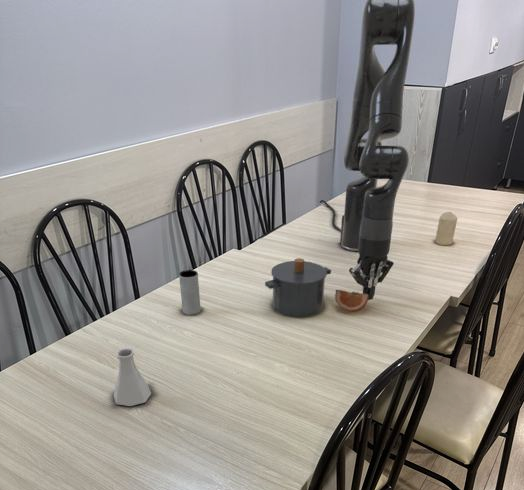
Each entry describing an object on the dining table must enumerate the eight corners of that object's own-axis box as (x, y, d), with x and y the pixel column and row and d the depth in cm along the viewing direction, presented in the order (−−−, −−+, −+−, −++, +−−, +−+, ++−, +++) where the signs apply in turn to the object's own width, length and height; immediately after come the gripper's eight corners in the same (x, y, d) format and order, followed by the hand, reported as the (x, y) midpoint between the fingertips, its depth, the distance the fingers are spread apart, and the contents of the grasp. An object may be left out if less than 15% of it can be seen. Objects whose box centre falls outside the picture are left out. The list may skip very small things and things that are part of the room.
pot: (255, 303, 131) (254, 271, 127) (312, 288, 139) (314, 257, 134) (280, 324, 122) (281, 290, 117) (340, 307, 130) (343, 274, 125)
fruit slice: (331, 311, 128) (332, 293, 125) (338, 300, 133) (339, 283, 130) (363, 317, 125) (365, 299, 122) (369, 306, 130) (371, 288, 127)
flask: (116, 385, 101) (108, 343, 96) (153, 383, 101) (147, 341, 96) (110, 408, 95) (101, 364, 89) (149, 406, 95) (142, 362, 90)
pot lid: (261, 271, 128) (261, 256, 126) (306, 261, 134) (306, 246, 132) (290, 291, 118) (291, 275, 116) (337, 279, 124) (339, 264, 122)
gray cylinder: (187, 316, 125) (183, 278, 120) (179, 309, 129) (176, 272, 123) (203, 312, 127) (200, 274, 122) (195, 305, 131) (192, 268, 125)
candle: (453, 245, 167) (459, 216, 161) (435, 244, 168) (441, 215, 162) (451, 240, 171) (457, 211, 166) (434, 239, 172) (439, 210, 167)
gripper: (385, 224, 127) (377, 287, 136) (343, 234, 121) (338, 299, 130) (407, 233, 121) (397, 298, 130) (364, 243, 115) (357, 310, 125)
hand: (367, 298), depth 130 cm, fingers closed
